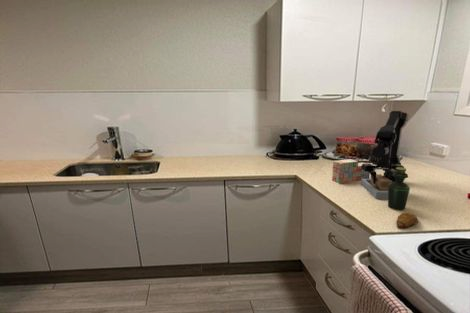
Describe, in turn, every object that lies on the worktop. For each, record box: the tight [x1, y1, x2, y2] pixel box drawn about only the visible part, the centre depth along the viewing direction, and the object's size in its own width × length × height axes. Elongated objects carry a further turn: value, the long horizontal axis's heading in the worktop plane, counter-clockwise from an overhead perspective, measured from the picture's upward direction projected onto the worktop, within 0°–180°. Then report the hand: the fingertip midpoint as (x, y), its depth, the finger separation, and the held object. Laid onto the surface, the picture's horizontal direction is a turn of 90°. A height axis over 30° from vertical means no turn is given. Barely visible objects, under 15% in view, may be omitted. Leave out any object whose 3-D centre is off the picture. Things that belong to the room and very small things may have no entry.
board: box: [370, 173, 393, 191], centre depth 133 cm, size 12×5×6 cm, turn 177°
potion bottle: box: [387, 167, 410, 211], centre depth 113 cm, size 8×8×18 cm
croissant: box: [396, 212, 419, 229], centre depth 100 cm, size 14×7×5 cm, turn 125°
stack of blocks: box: [331, 159, 371, 184], centre depth 152 cm, size 21×6×12 cm, turn 106°
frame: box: [360, 178, 388, 200], centre depth 134 cm, size 12×21×4 cm, turn 173°
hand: (380, 183), depth 133 cm, fingers open, 6 cm apart
